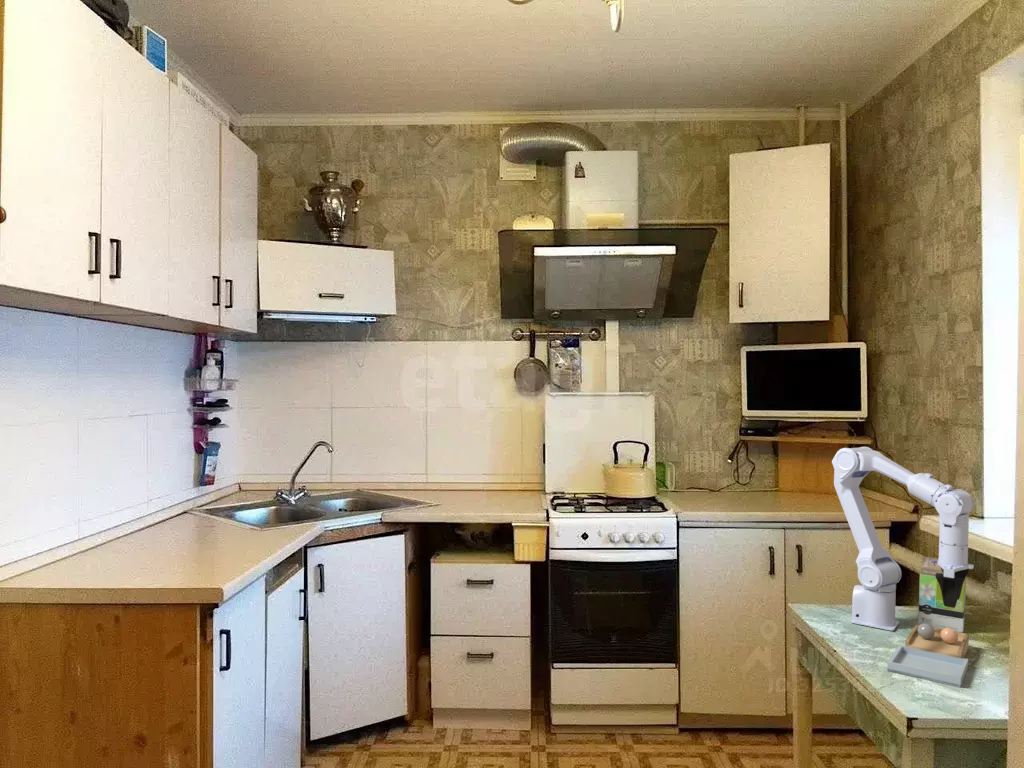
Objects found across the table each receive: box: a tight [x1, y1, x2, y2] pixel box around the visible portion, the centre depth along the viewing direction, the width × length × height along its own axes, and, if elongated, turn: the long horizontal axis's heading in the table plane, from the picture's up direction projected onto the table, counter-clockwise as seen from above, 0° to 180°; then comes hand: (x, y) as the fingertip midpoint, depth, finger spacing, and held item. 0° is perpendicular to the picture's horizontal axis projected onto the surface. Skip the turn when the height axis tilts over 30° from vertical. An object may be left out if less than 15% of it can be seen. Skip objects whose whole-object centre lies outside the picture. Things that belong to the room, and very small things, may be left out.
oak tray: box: [904, 623, 970, 659], centre depth 163 cm, size 10×14×3 cm
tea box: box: [917, 556, 967, 633], centre depth 185 cm, size 15×10×15 cm, turn 148°
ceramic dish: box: [887, 644, 969, 688], centre depth 153 cm, size 13×13×2 cm
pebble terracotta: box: [940, 628, 958, 644], centre depth 162 cm, size 3×3×3 cm
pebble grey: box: [918, 623, 935, 639], centre depth 165 cm, size 3×3×3 cm
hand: (951, 602), depth 167 cm, fingers open, 7 cm apart
